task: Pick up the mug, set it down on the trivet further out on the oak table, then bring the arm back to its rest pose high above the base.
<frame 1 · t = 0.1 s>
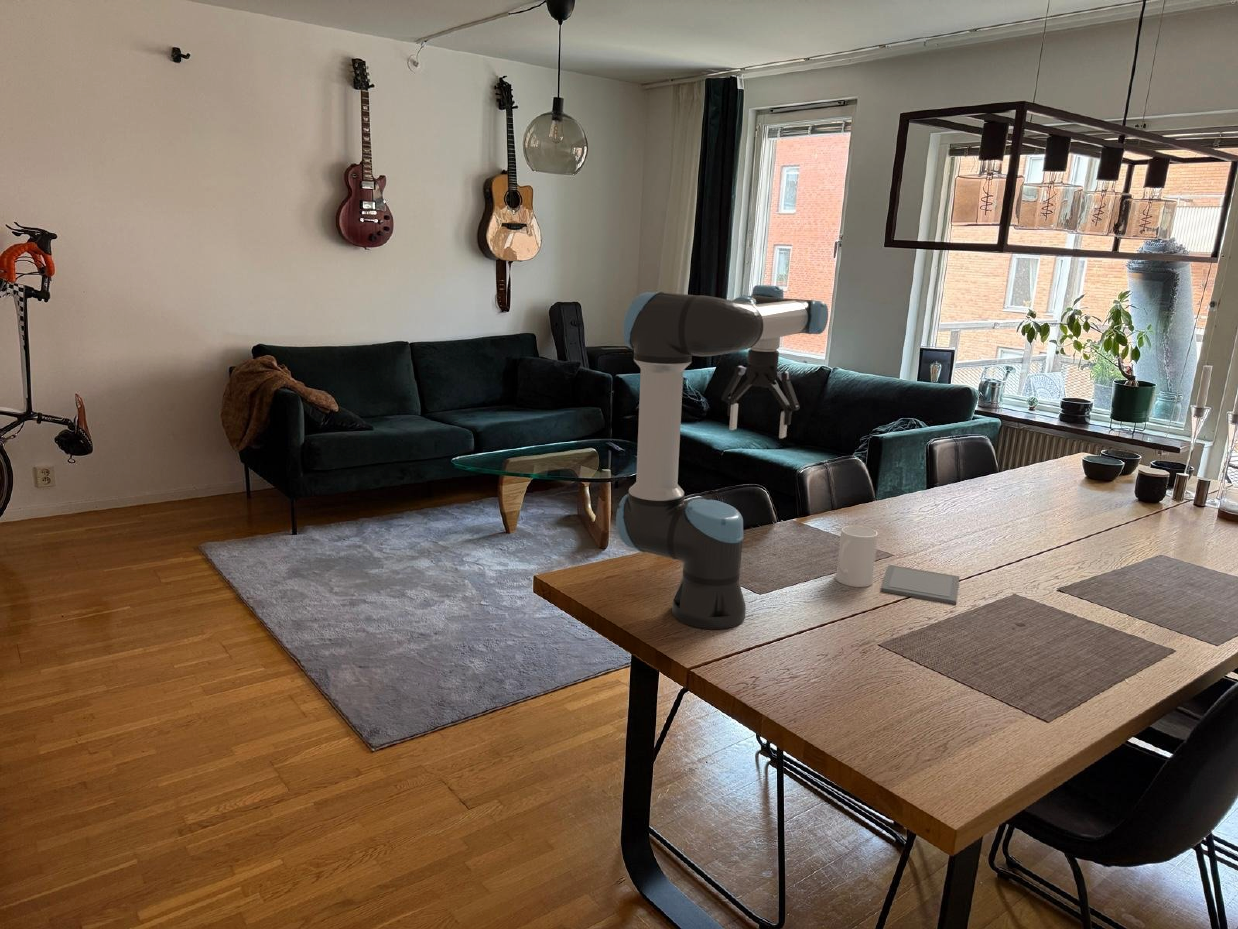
hand: (757, 433, 223), 28 cm above the table, fingers open, 13 cm apart
trivet: (920, 585, 203), on the table
mug: (849, 582, 204), on the table
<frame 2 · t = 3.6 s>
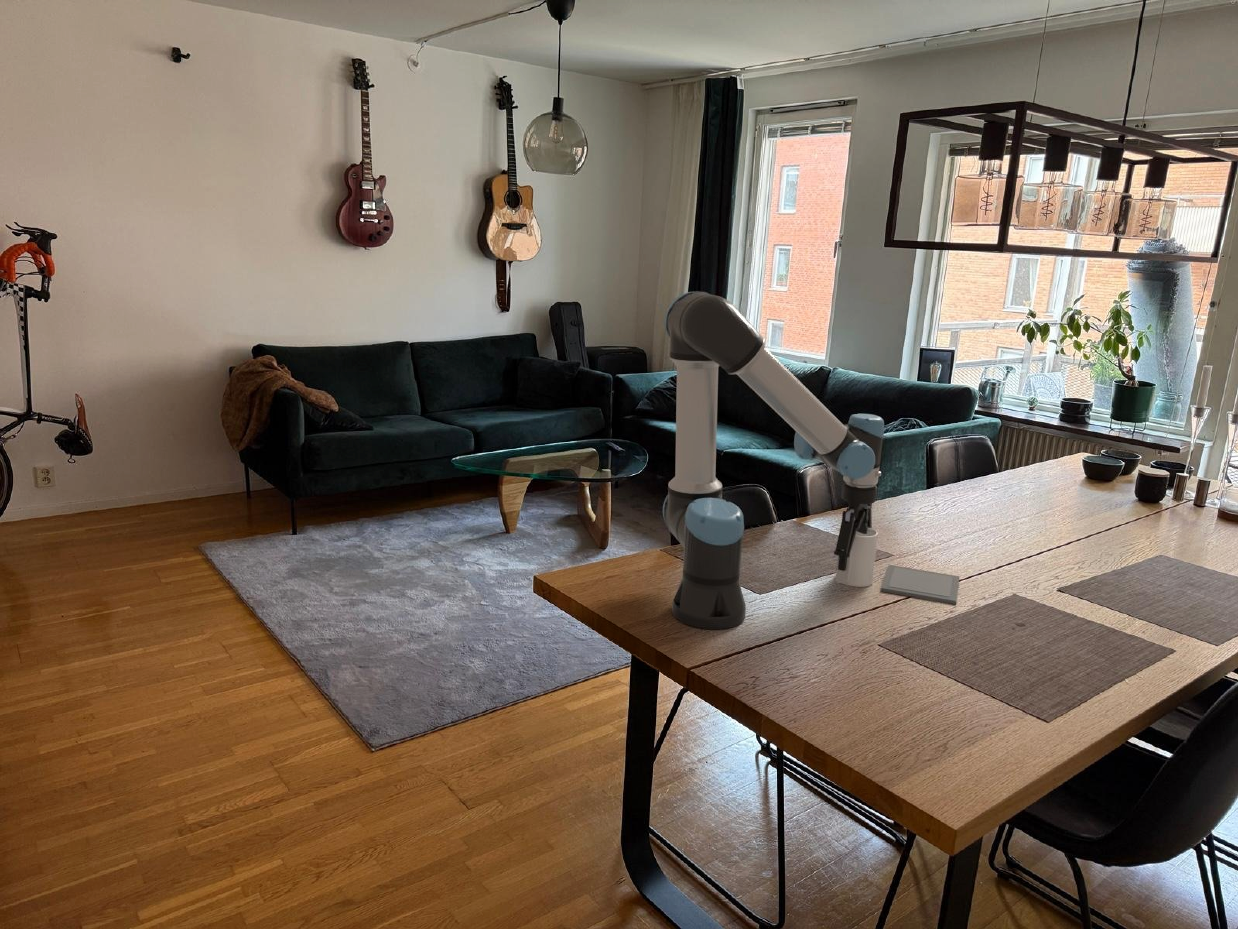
hand: (850, 574, 203), 2 cm above the table, fingers closed on mug, 11 cm apart
mug: (849, 582, 204), on the table, touching gripper
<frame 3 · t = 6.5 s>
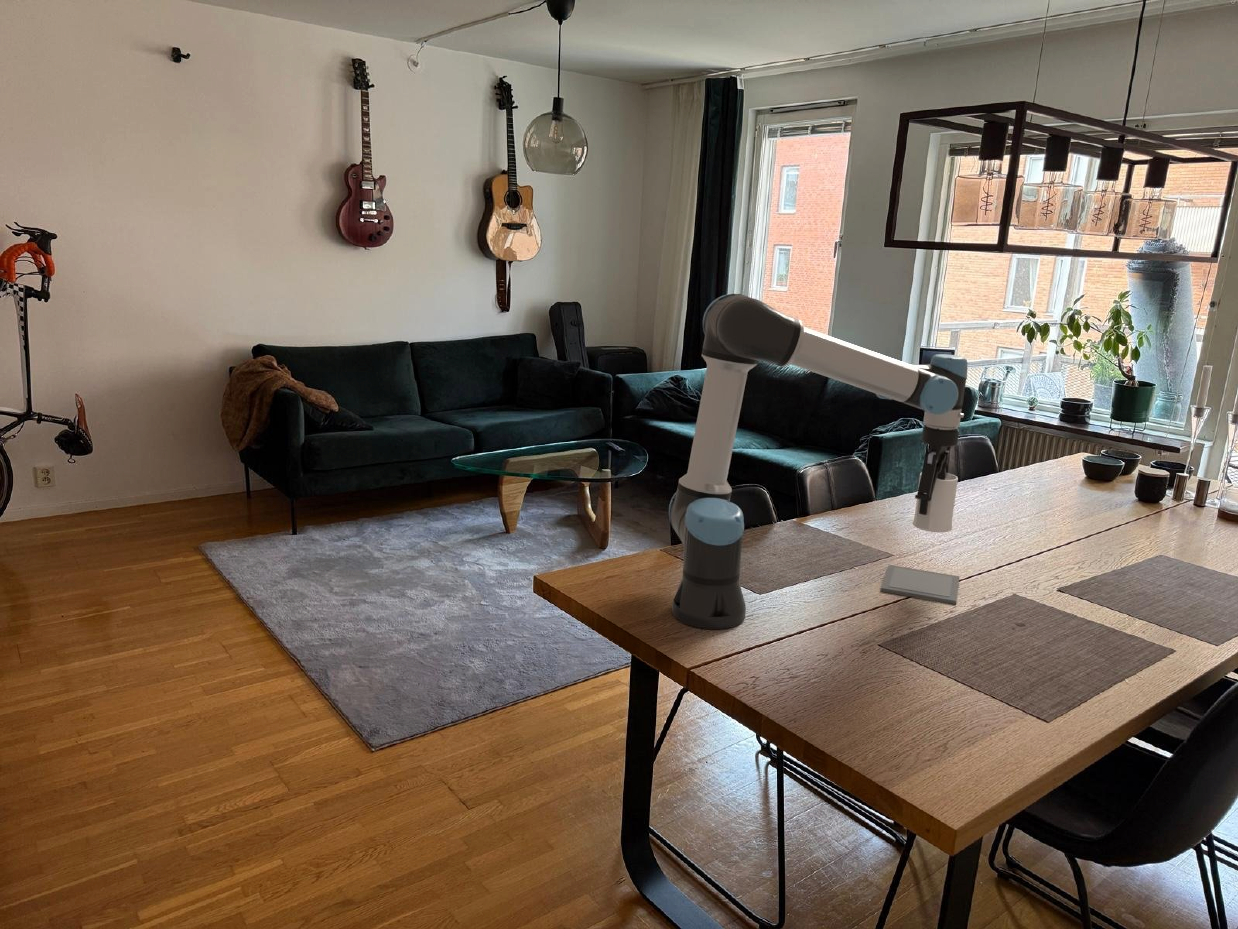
hand: (929, 520, 199), 16 cm above the table, fingers closed on mug, 11 cm apart
mug: (927, 528, 200), point 14 cm above the table, touching gripper
when the fingers open (4 cm above the table, at t = 9.1 s): mug drops 1 cm, resting on trivet.
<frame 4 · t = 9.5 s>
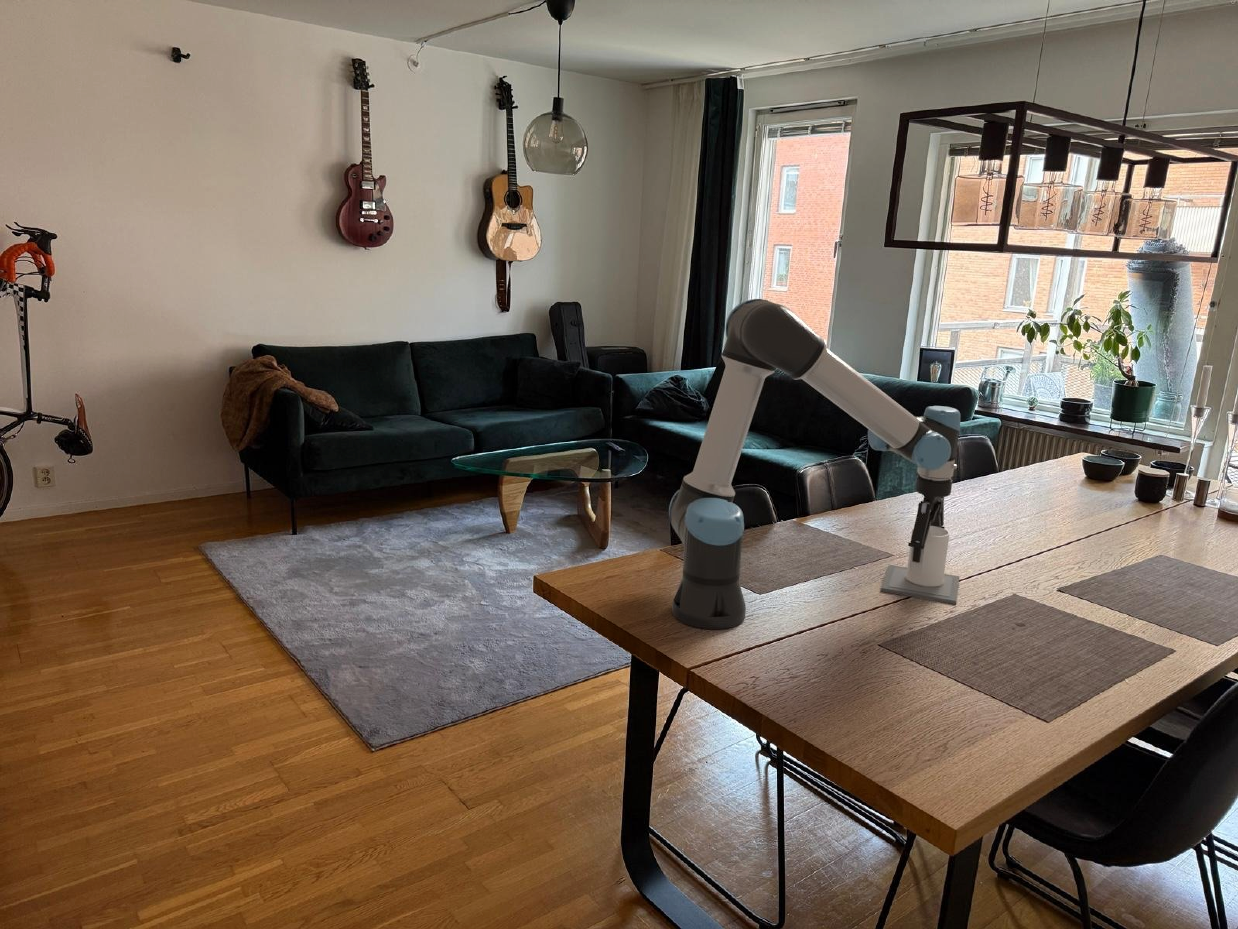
hand: (923, 566, 202), 5 cm above the table, fingers open, 13 cm apart
mug: (920, 582, 203), point 1 cm above the table, touching trivet
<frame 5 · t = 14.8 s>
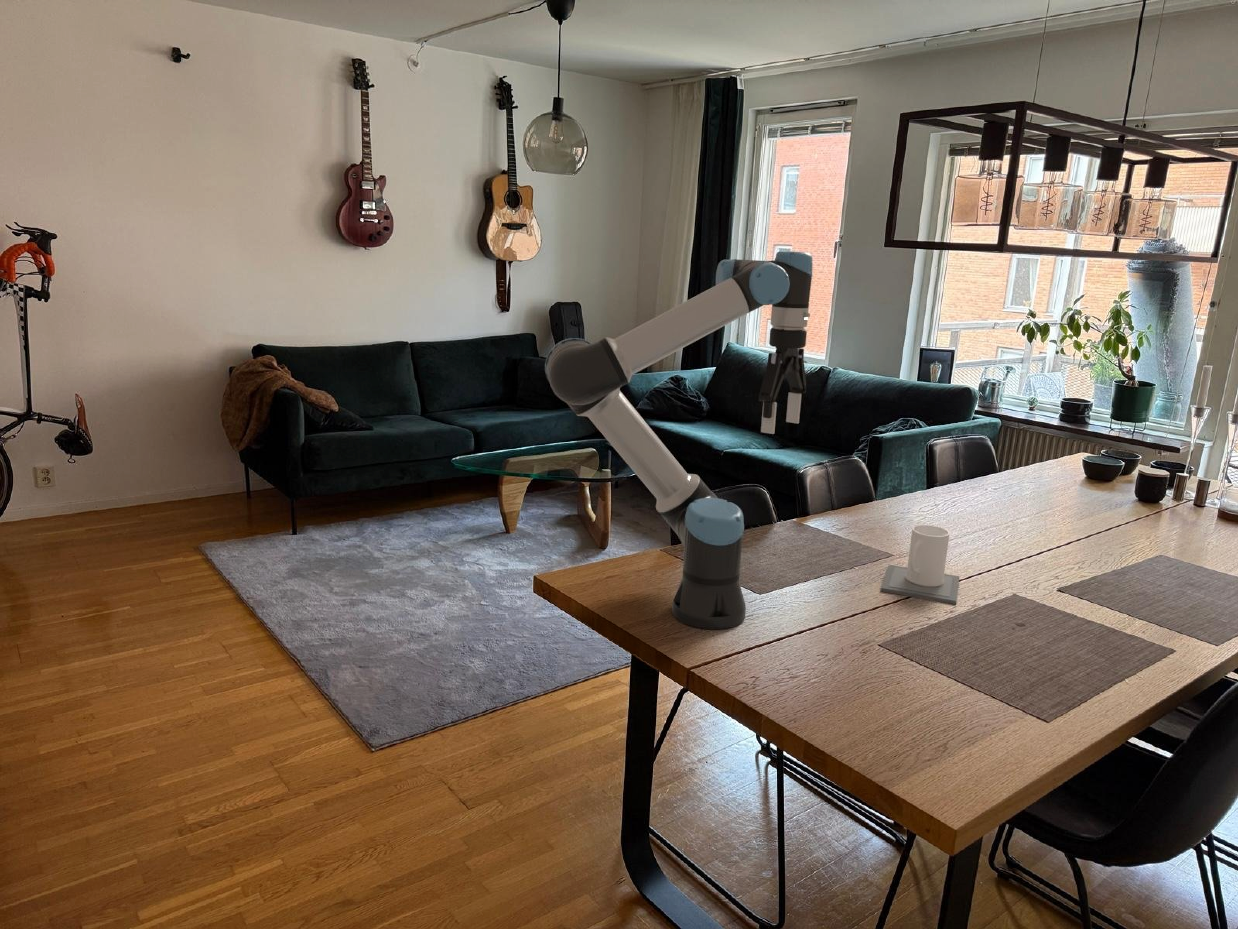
hand: (780, 427, 189), 37 cm above the table, fingers open, 13 cm apart
nothing on the table moved.
at the end: mug 0.2 cm from the trivet (horizontally); mug tilted 0°; the gripper is holding nothing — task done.
